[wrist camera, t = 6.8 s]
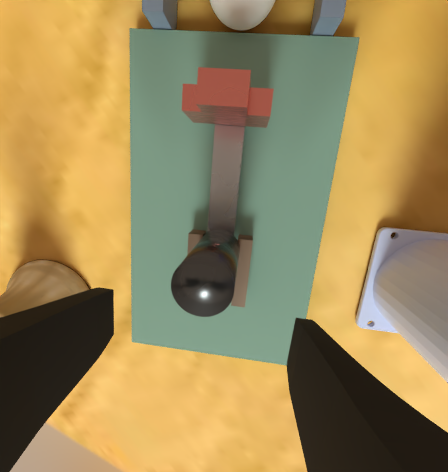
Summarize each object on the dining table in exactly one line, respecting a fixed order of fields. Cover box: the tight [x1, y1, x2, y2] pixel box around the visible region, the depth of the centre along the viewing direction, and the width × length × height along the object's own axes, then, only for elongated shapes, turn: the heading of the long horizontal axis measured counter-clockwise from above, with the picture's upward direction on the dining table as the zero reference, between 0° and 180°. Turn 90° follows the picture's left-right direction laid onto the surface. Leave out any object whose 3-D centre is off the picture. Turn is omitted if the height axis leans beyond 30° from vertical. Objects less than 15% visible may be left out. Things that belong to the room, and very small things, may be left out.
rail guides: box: [187, 229, 253, 307], centre depth 17 cm, size 4×5×1 cm
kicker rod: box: [171, 67, 274, 317], centre depth 13 cm, size 4×11×7 cm, turn 175°
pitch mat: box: [130, 28, 359, 365], centre depth 18 cm, size 14×23×1 cm, turn 175°
